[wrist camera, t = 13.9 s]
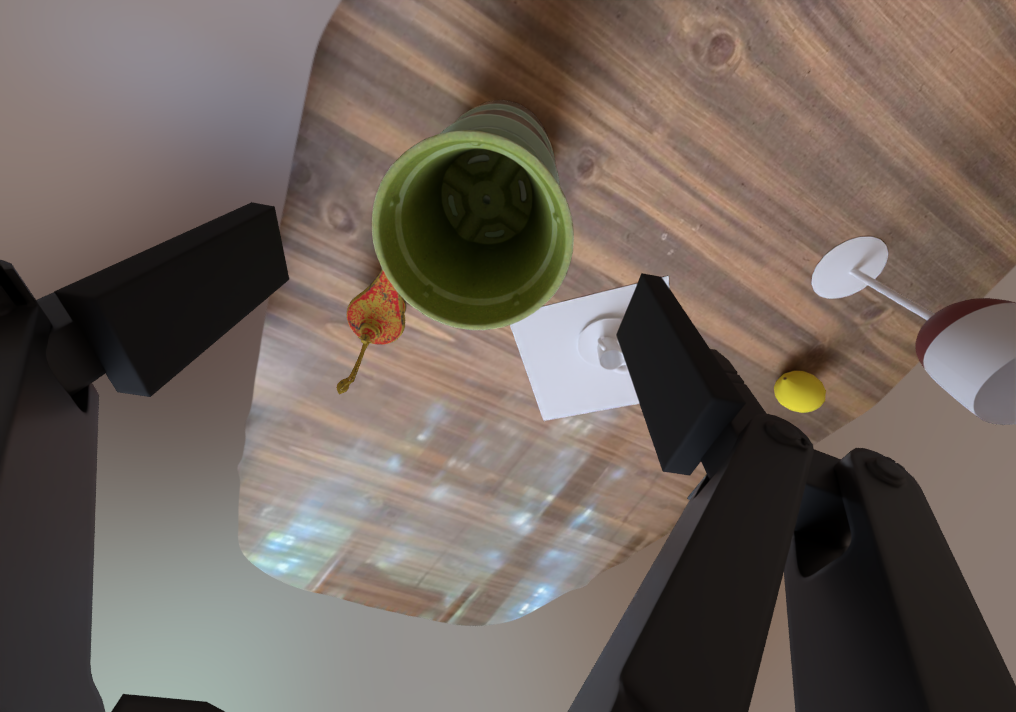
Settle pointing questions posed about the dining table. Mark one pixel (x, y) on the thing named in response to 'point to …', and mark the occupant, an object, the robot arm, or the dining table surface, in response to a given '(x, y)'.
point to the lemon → (800, 391)
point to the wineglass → (940, 332)
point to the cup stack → (507, 136)
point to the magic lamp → (375, 319)
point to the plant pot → (472, 230)
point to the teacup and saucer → (577, 354)
